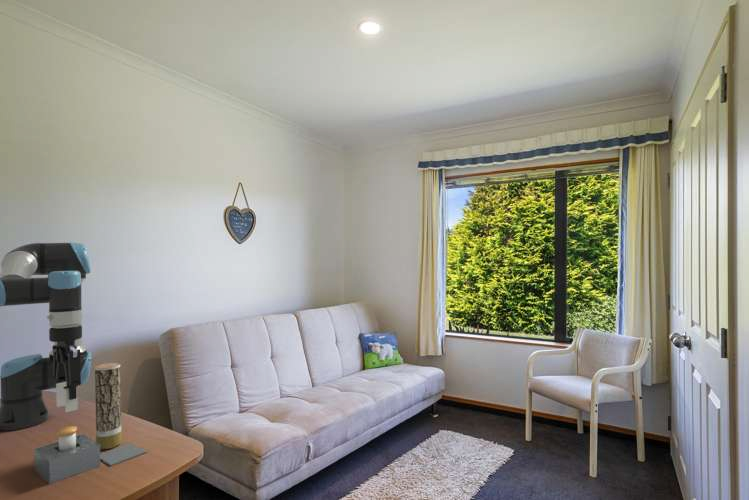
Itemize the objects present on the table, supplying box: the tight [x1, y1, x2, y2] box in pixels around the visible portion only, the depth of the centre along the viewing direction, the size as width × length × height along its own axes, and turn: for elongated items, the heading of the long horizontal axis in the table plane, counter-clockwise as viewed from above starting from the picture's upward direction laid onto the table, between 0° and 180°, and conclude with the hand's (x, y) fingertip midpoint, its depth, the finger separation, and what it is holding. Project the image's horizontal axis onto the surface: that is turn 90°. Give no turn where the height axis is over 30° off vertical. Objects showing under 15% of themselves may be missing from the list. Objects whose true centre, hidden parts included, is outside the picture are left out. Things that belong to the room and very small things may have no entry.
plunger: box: [56, 425, 78, 452], centre depth 121 cm, size 5×5×7 cm
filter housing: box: [33, 433, 101, 485], centre depth 121 cm, size 12×12×6 cm
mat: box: [100, 442, 148, 467], centre depth 129 cm, size 10×10×1 cm
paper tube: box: [94, 362, 122, 450], centre depth 135 cm, size 7×7×25 cm
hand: (67, 407), depth 121 cm, fingers open, 6 cm apart
